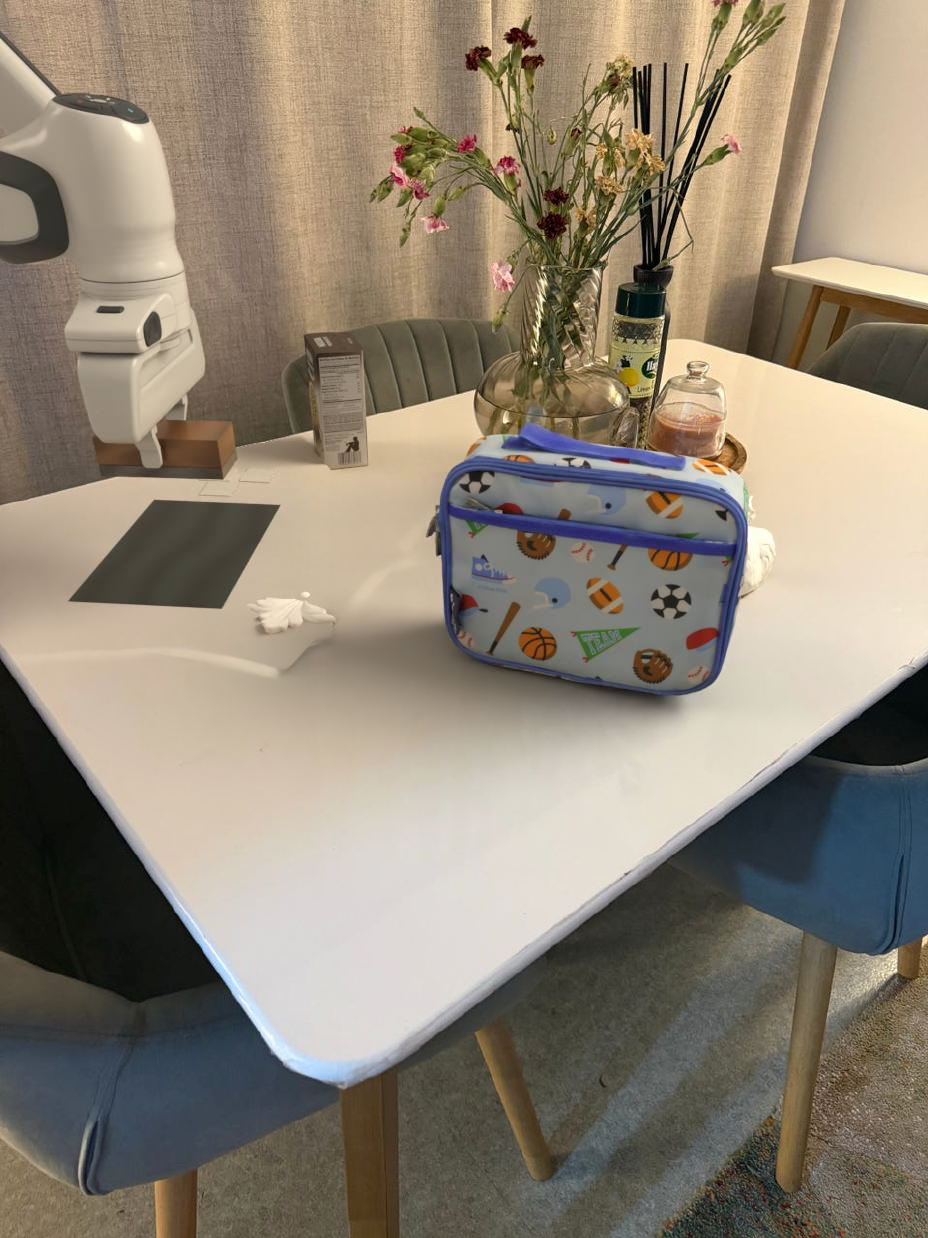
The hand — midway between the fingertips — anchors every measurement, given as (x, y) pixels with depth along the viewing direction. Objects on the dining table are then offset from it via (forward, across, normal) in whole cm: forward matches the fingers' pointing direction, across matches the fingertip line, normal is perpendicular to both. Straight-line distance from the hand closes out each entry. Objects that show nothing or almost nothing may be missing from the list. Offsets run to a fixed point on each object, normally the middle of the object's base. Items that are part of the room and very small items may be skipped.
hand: (166, 452), depth 86 cm
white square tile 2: (+15, -27, 0) cm, 31 cm away
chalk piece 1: (+15, -27, -5) cm, 31 cm away
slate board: (+15, -7, -3) cm, 17 cm away
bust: (+16, -5, +57) cm, 59 cm away
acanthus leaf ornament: (+15, +5, +12) cm, 20 cm away
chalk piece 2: (+15, -23, -4) cm, 28 cm away
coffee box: (+15, -37, +10) cm, 41 cm away
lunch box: (+16, +10, +40) cm, 44 cm away
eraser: (+2, 0, 0) cm, 2 cm away
